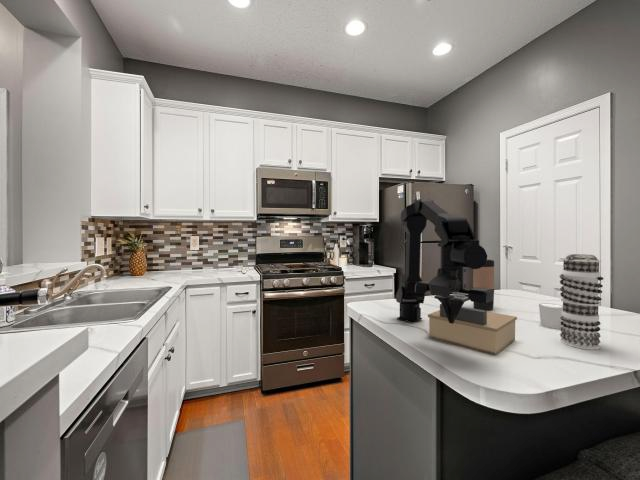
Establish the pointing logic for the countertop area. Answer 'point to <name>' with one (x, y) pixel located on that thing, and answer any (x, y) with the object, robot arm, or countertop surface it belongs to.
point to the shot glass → (550, 315)
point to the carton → (472, 336)
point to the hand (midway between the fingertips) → (451, 323)
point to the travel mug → (484, 283)
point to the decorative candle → (580, 301)
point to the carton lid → (477, 318)
